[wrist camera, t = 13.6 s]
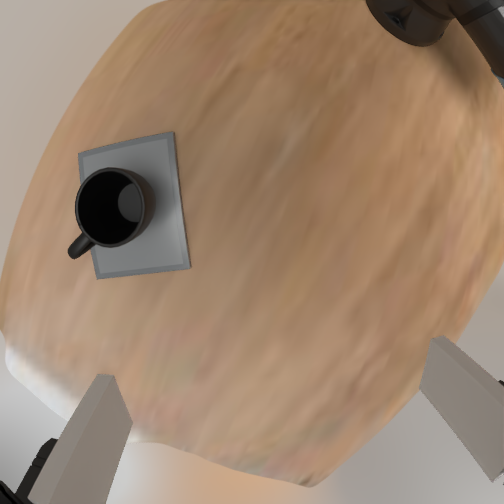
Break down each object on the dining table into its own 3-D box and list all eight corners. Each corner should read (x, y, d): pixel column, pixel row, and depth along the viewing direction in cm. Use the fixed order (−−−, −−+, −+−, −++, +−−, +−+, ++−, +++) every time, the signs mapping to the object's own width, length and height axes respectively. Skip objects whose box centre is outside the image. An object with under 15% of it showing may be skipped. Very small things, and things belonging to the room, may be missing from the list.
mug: (80, 218, 36) (43, 228, 27) (140, 158, 35) (112, 150, 26) (115, 263, 38) (85, 285, 29) (178, 205, 37) (161, 212, 28)
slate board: (81, 154, 35) (77, 153, 34) (174, 133, 36) (172, 131, 35) (100, 276, 39) (96, 279, 38) (191, 266, 40) (190, 268, 39)
